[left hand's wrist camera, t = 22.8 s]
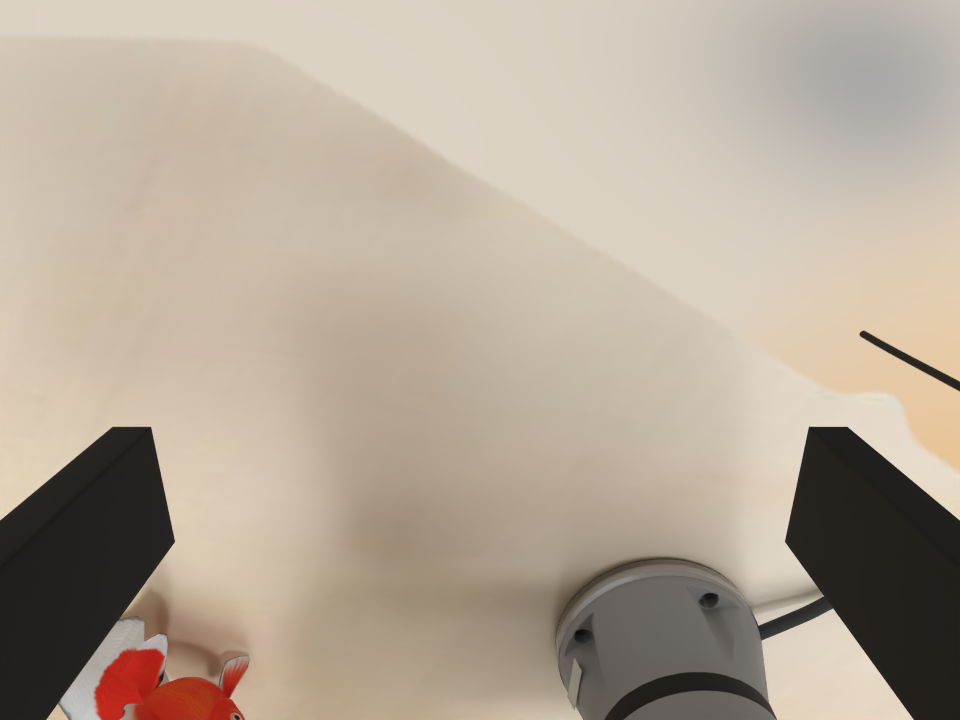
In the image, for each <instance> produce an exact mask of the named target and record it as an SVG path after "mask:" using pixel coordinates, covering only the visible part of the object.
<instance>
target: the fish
mask: <svg viewBox="0 0 960 720" xmlns="http://www.w3.org/2000/svg"><path fill="white" fill-rule="evenodd" d="M166 658H167V635H166V634H162V633H159V634H157V635H155V636H153V637H151V638H149V639H148V640H146V641H144V620H142V619H141V618H139V617H137V616H134V617H129V618H125V619H120V620H118V621H117V623H116V624H115V625H114V627H113V628H112V629H111V631H110V632H109V634H108V635H107V636H106V638H105V639H104V640H103V642H102V643H101V645H100V646H99V647H98V649H97V650H96V652H95V653H94V654H93V656H92V657H91V658H90V660H89V661H88V663H87V664H86V665H85V667H84V668H83V669H82V671H81V672H80V674H79V675H78V676H77V678H76V679H75V681H74V682H73V683H72V685H71V686H70V687H69V689H68V690H67V692H66V693H65V694H64V696H63V697H62V698H61V700H60V701H59V703H58V705H59V706H60V707H61V709H62V710H63V712H64V713H65V715H66V716H67V718H68V719H69V720H245V718H244V716H243V714H242V713H241V712H240V710H239V709H238V708H237V707H236V705H235V704H234V702H233V701H232V700H231V699H229V698H230V696H231V695H232V693H233V691H234V689H235V687H236V686H237V684H238V683H239V681H240V679H241V678H242V676H243V674H244V673H245V671H246V669H247V667H248V663H249V656H248V655H247V656H239V657H236V658H233V659H230V660H228V661H227V662H226V663H225V665H224V668H223V670H222V673H221V677H220V682H219V685H218V684H216V683H213V682H210V681H208V680H205V679H203V678H198V677H184V678H180V679H177V680H174V681H171V682H169V680H168V677H167V675H166V673H165V664H166Z"/></svg>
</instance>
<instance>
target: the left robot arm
mask: <svg viewBox="0 0 960 720" xmlns="http://www.w3.org/2000/svg"><path fill="white" fill-rule="evenodd" d="M859 335H860V337H862V338H864V339H865V340H867V341H869V342H870V343H872V344H874V345H875V346H877V347H879V348H881V349H882V350H884V351H886V352H888V353H889V354H891V355H893V356H895V357H897V358H899V359H900V360H902V361H904V362H906V363H908V364H910V365H911V366H913V367H915V368H917V369H919V370H921V371H923V372H924V373H926V374H928V375H930V376H932V377H934V378H936V379H937V380H939V381H941V382H943V383H945V384H947V385H948V386H950V387H952V388H954V389H956V390H958V391H960V381H958V380H956V379H954V378H952V377H950V376H949V375H947V374H945V373H943V372H941V371H939V370H937V369H935V368H933V367H931V366H929V365H927V364H925V363H923V362H922V361H920V360H918V359H916V358H914V357H912V356H910V355H908V354H906V353H904V352H902V351H901V350H899V349H897V348H895V347H893V346H891V345H889V344H888V343H886V342H884V341H882V340H880V339H878V338H877V337H875V336H873V335H872V334H870V333H868V332H866V331H861V332H860V334H859ZM174 542H175V540H174V535H173V530H172V525H171V520H170V516H169V511H168V506H167V501H166V496H165V492H164V487H163V482H162V477H161V472H160V468H159V463H158V458H157V453H156V449H155V444H154V439H153V434H152V429H151V427H112V428H111V429H110V430H108V431H107V432H106V433H105V434H104V435H102V436H101V437H100V438H99V439H98V440H96V441H95V442H94V443H93V444H92V445H90V446H89V447H88V448H87V449H86V450H84V451H83V452H82V453H81V454H80V455H78V456H77V457H76V458H75V459H74V460H72V461H71V462H70V463H69V464H68V465H66V466H65V467H64V468H63V469H62V470H60V471H59V472H58V473H57V474H56V475H54V476H53V477H52V478H51V479H50V480H48V481H47V482H46V483H45V484H44V485H42V486H41V487H40V488H39V489H38V490H36V491H35V492H34V493H33V494H32V495H30V496H29V497H28V498H27V499H26V500H24V501H23V502H22V503H21V504H20V505H18V506H17V507H16V508H15V509H14V510H12V511H11V512H10V513H9V514H8V515H6V516H5V517H4V518H3V519H2V520H0V720H46V719H47V718H48V716H49V715H50V714H51V712H52V711H53V710H54V708H55V707H56V705H57V704H58V703H59V701H60V700H61V698H62V697H63V696H64V694H65V693H66V692H67V690H68V689H69V687H70V686H71V685H72V683H73V682H74V681H75V679H76V678H77V676H78V675H79V674H80V672H81V671H82V669H83V668H84V667H85V665H86V664H87V663H88V661H89V660H90V658H91V657H92V656H93V654H94V653H95V652H96V650H97V649H98V647H99V646H100V645H101V643H102V642H103V640H104V639H105V638H106V636H107V635H108V634H109V632H110V631H111V629H112V628H113V627H114V625H115V624H116V623H117V621H118V620H119V618H120V617H121V616H122V614H123V613H124V611H125V610H126V609H127V607H128V606H129V605H130V603H131V602H132V600H133V599H134V598H135V596H136V595H137V594H138V592H139V591H140V589H141V588H142V587H143V585H144V584H145V582H146V581H147V580H148V578H149V577H150V576H151V574H152V573H153V571H154V570H155V569H156V567H157V566H158V565H159V563H160V562H161V560H162V559H163V558H164V556H165V555H166V553H167V552H168V551H169V549H170V548H171V547H172V545H173V544H174ZM785 542H786V544H787V545H788V547H789V548H790V549H791V551H792V552H793V553H794V555H795V556H796V558H797V559H798V560H799V562H800V563H801V565H802V566H803V567H804V569H805V570H806V571H807V573H808V574H809V576H810V577H811V578H812V580H813V581H814V582H815V584H816V585H817V587H818V588H819V589H820V591H821V592H822V594H823V595H824V597H822V598H820V599H818V600H816V601H814V602H813V603H811V604H809V605H807V606H805V607H802V608H800V609H798V610H796V611H793V612H791V613H788V614H786V615H784V616H781V617H779V618H776V619H774V620H772V621H769V622H767V623H764V624H762V625H760V626H758V624H757V621H756V619H755V617H754V615H753V614H752V612H751V610H750V608H749V606H748V604H747V603H746V601H745V599H744V597H743V596H742V594H741V593H740V592H739V590H738V589H737V588H736V587H735V586H734V585H733V584H732V583H731V582H730V581H729V580H728V579H726V578H725V577H723V576H722V575H720V574H719V573H717V572H715V571H714V570H711V569H709V568H707V567H704V566H702V565H699V564H695V563H691V562H687V561H681V560H671V559H655V560H646V561H640V562H635V563H631V564H627V565H624V566H621V567H618V568H616V569H613V570H611V571H609V572H607V573H605V574H603V575H601V576H599V577H598V578H596V579H595V580H593V581H592V582H590V583H589V584H588V585H586V586H585V587H584V588H583V589H582V590H581V591H580V592H579V593H577V595H576V596H575V597H574V598H573V599H572V600H571V602H570V603H569V605H568V606H567V607H566V609H565V611H564V613H563V614H562V617H561V619H560V622H559V625H558V628H557V634H556V652H557V659H558V666H559V671H560V676H561V679H562V681H563V684H564V686H565V688H566V690H567V692H568V699H569V701H570V703H571V705H572V707H573V709H574V711H575V706H576V708H577V709H578V711H579V713H580V715H581V716H582V718H583V720H777V718H776V716H775V714H774V712H773V710H772V708H771V706H770V704H769V700H768V692H767V684H766V676H765V667H764V659H763V651H762V643H761V641H762V640H764V639H766V638H769V637H771V636H774V635H776V634H778V633H781V632H783V631H786V630H788V629H790V628H793V627H795V626H798V625H800V624H802V623H805V622H807V621H809V620H811V619H813V618H816V617H817V616H819V615H821V614H823V613H825V612H827V611H829V610H831V609H834V610H835V611H836V613H837V614H838V616H839V617H840V618H841V620H842V621H843V623H844V624H845V625H846V627H847V628H848V629H849V631H850V632H851V634H852V635H853V636H854V638H855V639H856V640H857V642H858V643H859V645H860V646H861V647H862V649H863V650H864V652H865V653H866V654H867V656H868V657H869V658H870V660H871V661H872V663H873V664H874V665H875V667H876V668H877V669H878V671H879V672H880V674H881V675H882V676H883V678H884V679H885V681H886V682H887V683H888V685H889V686H890V687H891V689H892V690H893V692H894V693H895V694H896V696H897V697H898V698H899V700H900V701H901V703H902V704H903V705H904V707H905V708H906V710H907V711H908V712H909V714H910V715H911V716H912V718H913V719H914V720H960V520H958V519H957V518H956V517H955V516H954V515H952V514H951V513H950V512H949V511H948V510H946V509H945V508H944V507H943V506H942V505H940V504H939V503H938V502H937V501H936V500H934V499H933V498H932V497H931V496H930V495H928V494H927V493H926V492H925V491H924V490H922V489H921V488H920V487H919V486H918V485H916V484H915V483H914V482H913V481H912V480H910V479H909V478H908V477H907V476H906V475H904V474H903V473H902V472H901V471H900V470H898V469H897V468H896V467H895V466H894V465H892V464H891V463H890V462H889V461H888V460H886V459H885V458H884V457H883V456H882V455H880V454H879V453H878V452H877V451H876V450H874V449H873V448H872V447H871V446H870V445H868V444H867V443H866V442H865V441H864V440H862V439H861V438H860V437H859V436H858V435H856V434H855V433H854V432H853V431H852V430H850V429H849V428H848V427H809V429H808V434H807V439H806V444H805V449H804V453H803V458H802V463H801V468H800V472H799V477H798V482H797V487H796V492H795V496H794V501H793V506H792V511H791V516H790V520H789V525H788V530H787V535H786V540H785Z"/></svg>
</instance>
